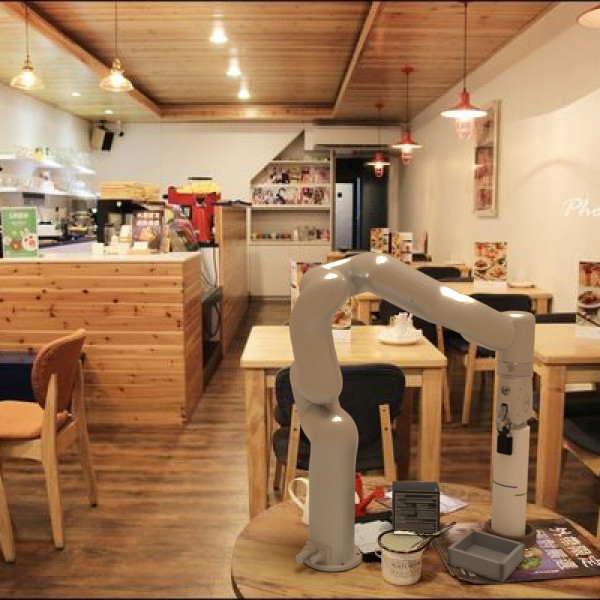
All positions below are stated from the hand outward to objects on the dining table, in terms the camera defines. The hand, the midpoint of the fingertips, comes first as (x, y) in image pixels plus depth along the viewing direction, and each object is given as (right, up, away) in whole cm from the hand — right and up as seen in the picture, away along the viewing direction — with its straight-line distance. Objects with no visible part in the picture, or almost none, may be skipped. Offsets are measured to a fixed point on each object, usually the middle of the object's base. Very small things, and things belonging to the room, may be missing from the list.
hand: (511, 449), depth 147 cm
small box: (-20, -20, +8) cm, 29 cm away
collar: (0, -20, +2) cm, 21 cm away
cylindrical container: (0, -20, +2) cm, 20 cm away
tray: (-8, -21, -8) cm, 24 cm away
